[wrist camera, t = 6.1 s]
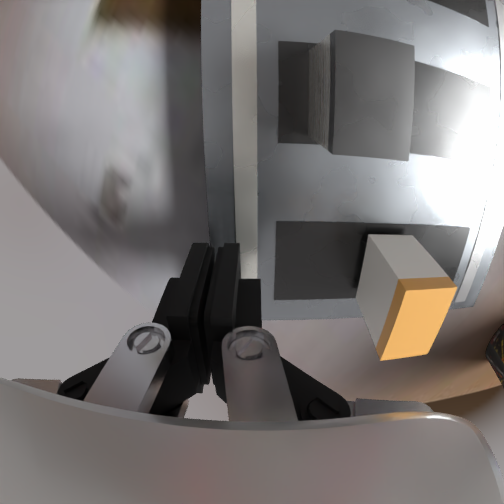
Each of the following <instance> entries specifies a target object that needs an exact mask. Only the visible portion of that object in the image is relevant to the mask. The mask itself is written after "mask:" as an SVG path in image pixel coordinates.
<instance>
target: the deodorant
mask: <svg viewBox="0 0 504 504" xmlns="http://www.w3.org/2000/svg"><path fill="white" fill-rule="evenodd" d="M486 358H487V359H488V361H489V363H490V364H491V366H492V368H493V369H494V371H495V373H496V375H497V376H498V378H499V380H500V382H501V384H502V386H503V387H504V324H503V325H502V326H501V327H500V329H499V330H498V331H497V332H496V334H495V335H494V336H493V338H492V339H491V341H490V343H489V345H488V347H487V350H486Z"/></svg>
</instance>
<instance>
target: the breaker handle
mask: <svg viewBox="0 0 504 504" xmlns="http://www.w3.org/2000/svg"><path fill="white" fill-rule="evenodd" d="M456 290H457V286H456V285H455V284H454V282H453V281H452V280H451V279H450V277H449V276H448V275H447V274H446V273H445V271H444V270H443V269H442V268H441V267H440V265H439V264H438V263H437V262H436V261H435V260H434V259H433V257H432V256H431V255H430V254H429V253H428V252H427V251H426V249H425V248H424V247H423V246H422V245H421V244H420V243H419V242H418V241H417V240H416V238H415V237H414V236H413V235H377V234H368V239H367V245H366V250H365V256H364V261H363V266H362V271H361V275H360V280H359V285H358V289H357V294H356V300H357V303H358V305H359V307H360V310H361V312H362V315H363V317H364V320H365V322H366V325H367V327H368V330H369V332H370V335H371V338H372V340H373V343H374V345H375V348H376V351H377V353H378V356H379V359H380V361H382V360H390V359H398V358H405V357H412V356H418V355H424V354H428V352H429V350H430V348H431V346H432V344H433V342H434V340H435V338H436V336H437V334H438V331H439V329H440V327H441V325H442V323H443V321H444V318H445V316H446V314H447V312H448V309H449V307H450V305H451V302H452V300H453V297H454V295H455V292H456Z"/></svg>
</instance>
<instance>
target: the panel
mask: <svg viewBox="0 0 504 504" xmlns="http://www.w3.org/2000/svg"><path fill="white" fill-rule="evenodd" d="M201 71H202V109H203V135H204V156H205V175H206V191H207V206H208V220H209V234H210V246H211V247H214V248H215V259H216V255H217V251H218V247H224V243H240V261H241V279H261V314H262V320H307V319H335V318H355V317H363V315H362V312H361V310H360V307H359V305H358V303H357V300H356V294H357V289H358V285H359V280H360V275H361V271H362V266H363V261H364V256H365V250H366V245H367V239H368V234H377V235H413V236H414V237H415V238H416V240H417V241H418V242H419V243H420V244H421V245H422V246H423V247H424V248H425V249H426V251H427V252H428V253H429V254H430V255H431V256H432V257H433V259H434V260H435V261H436V262H437V263H438V264H439V265H440V267H441V268H442V269H443V270H444V271H445V273H446V274H447V275H448V276H449V277H450V279H451V280H452V281H453V282H454V284H455V285H456V286H457V290H456V292H455V295H454V297H453V300H452V302H451V305H450V307H449V309H457V308H465V307H473V306H474V304H475V301H476V299H477V297H478V295H479V292H480V290H481V287H482V285H483V282H484V280H485V277H486V275H487V272H488V270H489V267H490V264H491V261H492V259H493V256H494V253H495V250H496V247H497V244H498V241H499V237H500V234H501V231H502V227H503V224H504V0H201ZM449 309H448V310H449Z"/></svg>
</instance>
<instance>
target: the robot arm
mask: <svg viewBox="0 0 504 504" xmlns="http://www.w3.org/2000/svg"><path fill="white" fill-rule="evenodd" d="M211 373H212V379H213V384H214V385H215V387H216V393H217V395H218V396H219V397H220V398H221V399H222V400H223V401H224V402H225V403H227V407H228V415H229V421H212V420H200V419H188V418H184V416H185V414H186V411H187V408H188V404H189V400H188V399H189V398H190V397H192V396H193V395H195V394H196V393H202V392H203V386H204V384H207V385H208V384H209V382H210V376H211ZM0 504H504V480H503V477H502V474H501V471H500V468H499V465H498V463H497V461H496V458H495V456H494V454H493V452H492V450H491V448H490V446H489V444H488V443H487V440H486V439H485V437H484V436H483V434H482V433H481V431H480V430H479V429H478V428H477V427H476V426H475V425H474V424H473V423H472V422H470V421H468V420H466V419H464V418H461V417H458V416H454V415H450V414H444V413H437V412H433V411H432V410H431V408H430V407H429V406H427V405H426V404H424V403H421V402H416V401H388V400H371V399H358V398H357V399H356V401H355V402H353V401H346V400H345V399H344V398H343V397H342V396H340V395H339V394H338V393H336V392H334V391H333V390H331V389H330V388H328V387H326V386H325V385H323V384H322V383H320V382H319V381H317V380H315V379H314V378H312V377H311V376H309V375H308V374H306V373H305V372H303V371H302V370H300V369H299V368H297V367H296V366H294V365H293V364H291V363H290V362H288V361H287V360H285V359H284V358H282V357H281V356H280V354H279V350H278V347H277V343H276V340H275V339H274V337H273V335H272V334H271V333H269V332H268V331H267V330H264V329H262V314H261V279H241V261H240V243H224V247H218V251H217V255H216V259H215V248H214V247H209V243H193V244H192V247H191V249H190V252H189V254H188V257H187V260H186V262H185V265H184V268H183V270H182V273H181V276H180V278H170V279H169V281H168V283H167V286H166V288H165V291H164V293H163V296H162V298H161V301H160V303H159V306H158V308H157V311H156V313H155V316H154V319H153V321H152V323H143V324H139V325H137V326H134V327H133V328H131V329H130V330H128V332H127V333H126V334H125V335H124V336H123V338H122V339H121V341H120V342H119V344H118V346H117V347H116V349H115V350H114V352H113V353H112V355H111V357H110V358H108V359H106V360H104V361H102V362H100V363H98V364H96V365H94V366H92V367H90V368H88V369H86V370H84V371H82V372H80V373H78V374H76V375H74V376H72V377H70V378H69V379H67V380H66V381H64V382H63V383H62V382H61V381H60V380H41V379H19V378H18V379H13V380H7V379H4V378H0Z"/></svg>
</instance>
